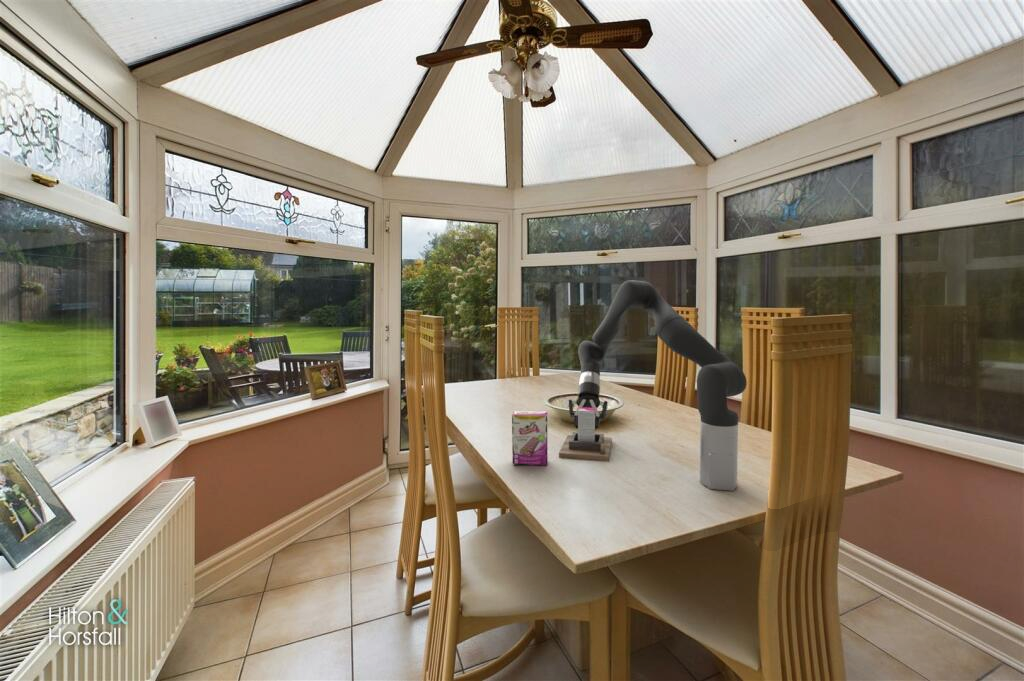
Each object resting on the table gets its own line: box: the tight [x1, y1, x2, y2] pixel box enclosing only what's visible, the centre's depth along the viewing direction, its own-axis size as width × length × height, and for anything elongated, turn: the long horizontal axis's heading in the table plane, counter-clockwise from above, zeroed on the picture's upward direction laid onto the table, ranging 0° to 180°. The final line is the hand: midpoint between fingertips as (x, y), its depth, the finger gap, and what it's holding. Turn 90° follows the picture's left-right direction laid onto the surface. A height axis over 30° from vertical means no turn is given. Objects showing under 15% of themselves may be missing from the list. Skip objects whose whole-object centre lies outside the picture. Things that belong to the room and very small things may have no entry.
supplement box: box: [577, 407, 596, 442], centre depth 148 cm, size 6×6×12 cm
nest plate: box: [558, 432, 613, 462], centre depth 148 cm, size 20×16×4 cm
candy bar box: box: [511, 410, 549, 466], centre depth 136 cm, size 11×5×16 cm, turn 84°
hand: (586, 427), depth 146 cm, fingers closed on supplement box, 6 cm apart
